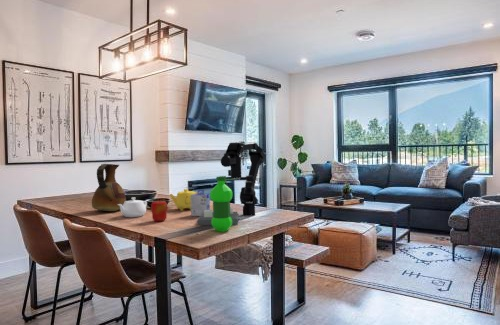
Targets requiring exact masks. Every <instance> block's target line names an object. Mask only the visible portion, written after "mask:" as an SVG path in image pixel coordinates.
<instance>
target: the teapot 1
mask: <svg viewBox="0 0 500 325" xmlns="http://www.w3.org/2000/svg"><path fill="white" fill-rule="evenodd" d="M117 205H119V206H120V209H119V210H120V212H121V214H122V216H124V217H126V218H138V217H143V215H145V214H146V212H147V205H148V201H146V200H140V199H136V197H133V196H132V197H131V199H130V200H126V201H125V202H124V204H123V206H122V204H117Z"/></svg>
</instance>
